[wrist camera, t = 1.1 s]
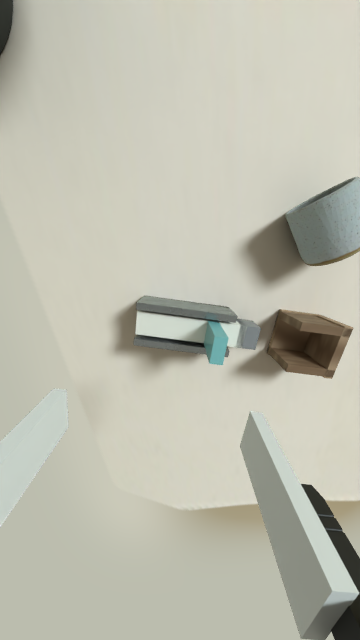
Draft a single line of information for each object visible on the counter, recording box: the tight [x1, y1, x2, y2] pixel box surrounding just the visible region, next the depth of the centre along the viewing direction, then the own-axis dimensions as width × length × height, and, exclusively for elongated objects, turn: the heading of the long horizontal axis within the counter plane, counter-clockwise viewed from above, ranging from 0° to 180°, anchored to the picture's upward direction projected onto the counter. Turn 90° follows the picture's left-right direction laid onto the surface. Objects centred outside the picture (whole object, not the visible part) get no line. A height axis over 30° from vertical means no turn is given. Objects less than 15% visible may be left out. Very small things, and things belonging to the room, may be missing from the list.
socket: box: [267, 309, 353, 379], centre depth 30 cm, size 8×7×6 cm
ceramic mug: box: [286, 177, 360, 266], centre depth 25 cm, size 11×8×8 cm
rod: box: [135, 310, 261, 365], centre depth 27 cm, size 4×18×10 cm, turn 82°
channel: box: [134, 296, 237, 357], centre depth 30 cm, size 6×14×6 cm, turn 82°
